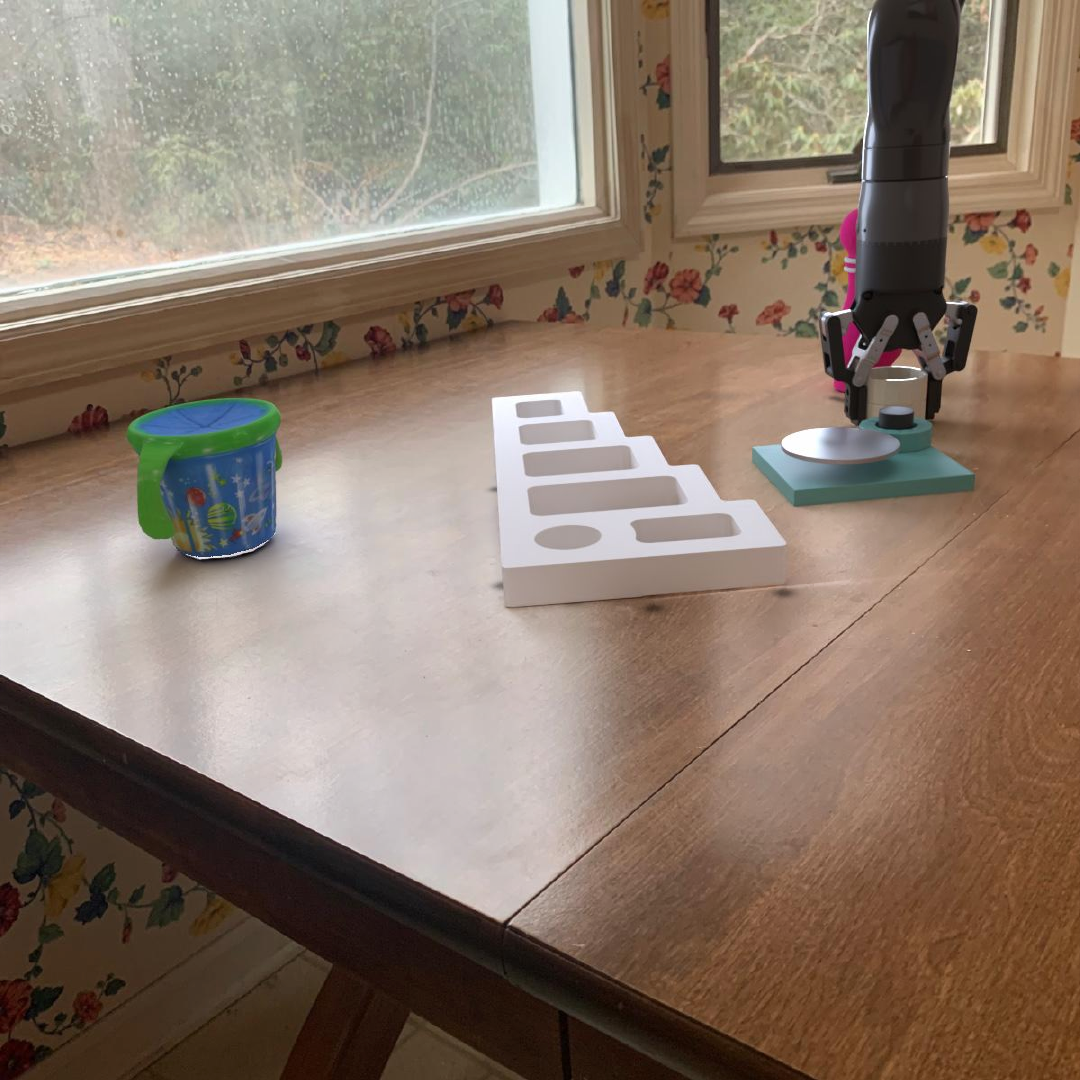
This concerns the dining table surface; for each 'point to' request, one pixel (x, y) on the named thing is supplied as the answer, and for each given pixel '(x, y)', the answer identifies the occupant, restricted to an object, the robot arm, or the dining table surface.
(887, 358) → the pepper mill
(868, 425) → the scale
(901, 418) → the tare button
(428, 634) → the dining table surface
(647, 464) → the holder
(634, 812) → the dining table surface
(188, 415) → the snack cup
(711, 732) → the dining table surface
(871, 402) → the beige cup
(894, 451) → the weighing plate
